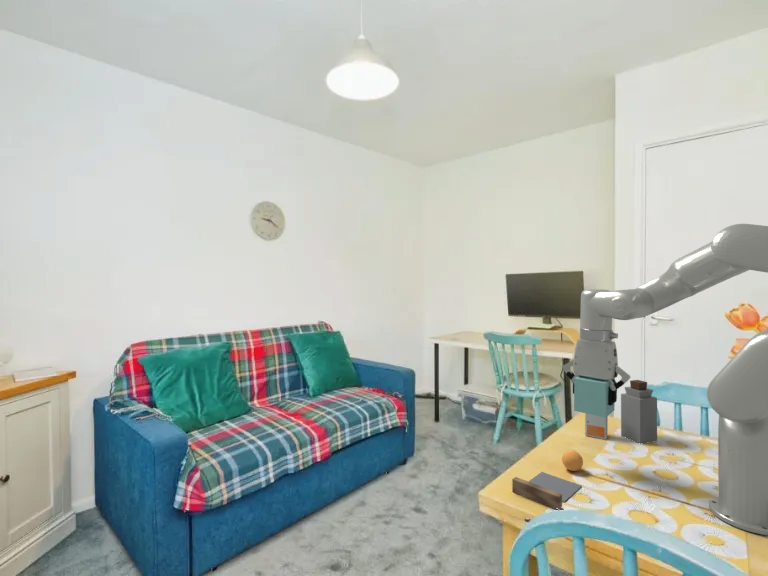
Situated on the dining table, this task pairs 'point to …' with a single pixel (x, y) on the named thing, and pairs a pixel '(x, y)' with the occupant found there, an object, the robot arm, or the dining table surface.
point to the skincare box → (596, 426)
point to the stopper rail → (537, 493)
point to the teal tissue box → (592, 396)
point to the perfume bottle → (639, 413)
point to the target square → (556, 484)
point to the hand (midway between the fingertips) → (593, 400)
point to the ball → (572, 460)
